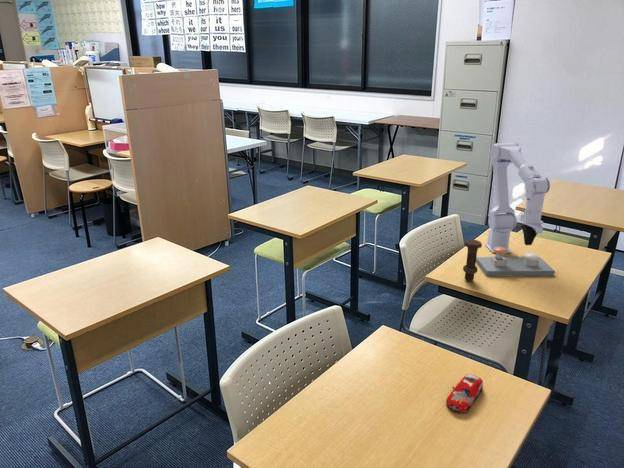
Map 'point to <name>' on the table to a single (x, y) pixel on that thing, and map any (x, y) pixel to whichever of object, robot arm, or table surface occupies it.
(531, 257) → the grey plunger
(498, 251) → the terracotta plunger
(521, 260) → the press plate
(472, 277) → the bolt
